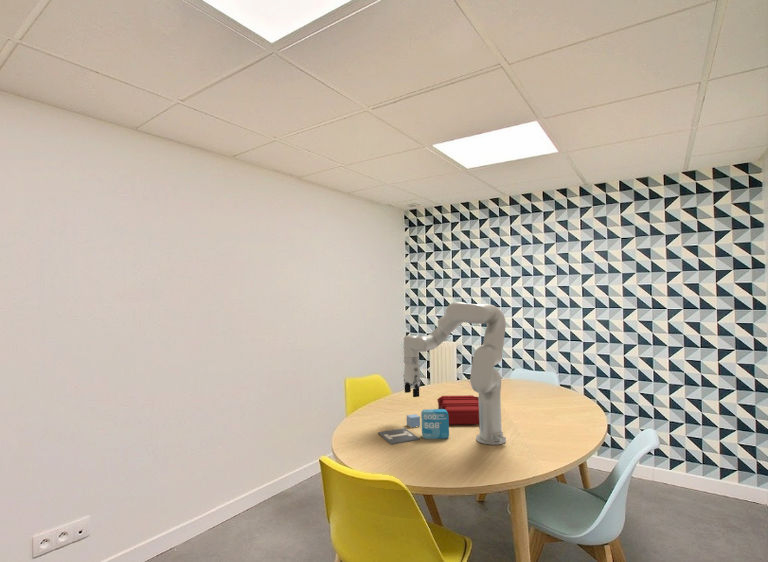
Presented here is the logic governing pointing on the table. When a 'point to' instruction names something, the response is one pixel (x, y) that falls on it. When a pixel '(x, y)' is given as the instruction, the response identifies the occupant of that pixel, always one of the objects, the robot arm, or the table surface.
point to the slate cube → (413, 420)
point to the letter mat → (398, 436)
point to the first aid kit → (460, 409)
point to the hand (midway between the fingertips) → (411, 394)
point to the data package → (435, 423)
